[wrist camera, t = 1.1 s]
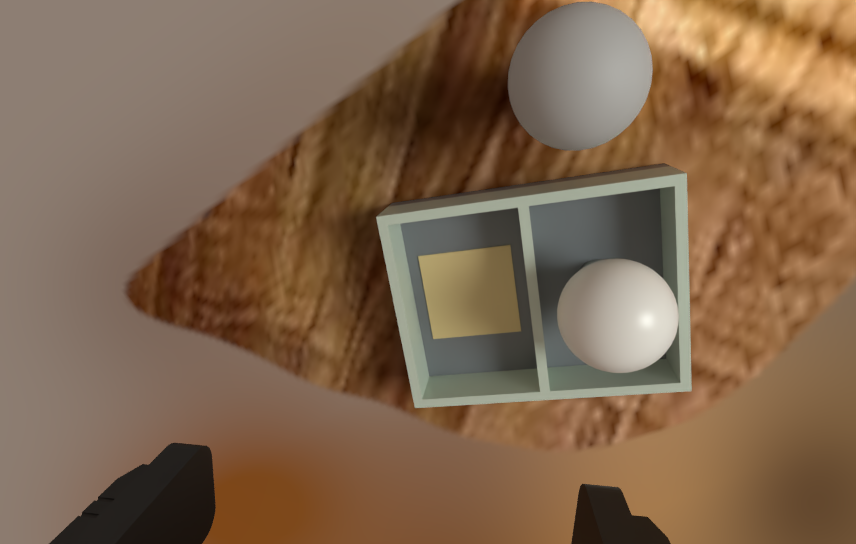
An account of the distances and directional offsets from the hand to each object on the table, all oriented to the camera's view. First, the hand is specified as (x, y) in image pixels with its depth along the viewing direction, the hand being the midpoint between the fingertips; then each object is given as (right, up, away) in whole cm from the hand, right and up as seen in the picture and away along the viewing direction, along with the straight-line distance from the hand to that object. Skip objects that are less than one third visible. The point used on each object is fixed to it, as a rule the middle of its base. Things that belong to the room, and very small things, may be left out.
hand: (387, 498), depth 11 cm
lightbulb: (+9, +16, +19) cm, 27 cm away
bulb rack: (+8, +4, +23) cm, 25 cm away
